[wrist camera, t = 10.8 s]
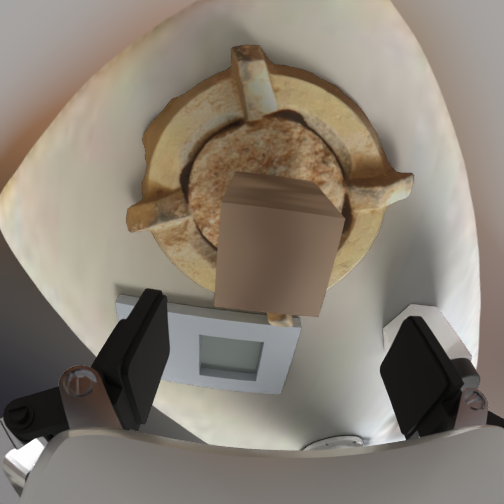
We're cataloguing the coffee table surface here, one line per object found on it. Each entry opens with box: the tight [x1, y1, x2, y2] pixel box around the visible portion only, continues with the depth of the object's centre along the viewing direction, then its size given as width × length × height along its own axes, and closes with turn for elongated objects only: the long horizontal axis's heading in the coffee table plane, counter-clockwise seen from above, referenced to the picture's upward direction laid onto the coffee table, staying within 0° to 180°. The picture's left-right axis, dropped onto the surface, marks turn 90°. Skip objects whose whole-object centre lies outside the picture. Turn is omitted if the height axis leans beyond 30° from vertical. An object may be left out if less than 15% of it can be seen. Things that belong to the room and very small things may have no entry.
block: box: [214, 171, 345, 317], centre depth 17 cm, size 6×6×8 cm
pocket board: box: [115, 294, 301, 395], centre depth 31 cm, size 20×12×2 cm, turn 83°
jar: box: [383, 304, 480, 392], centre depth 25 cm, size 9×8×12 cm
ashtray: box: [126, 45, 414, 327], centre depth 22 cm, size 24×24×5 cm
